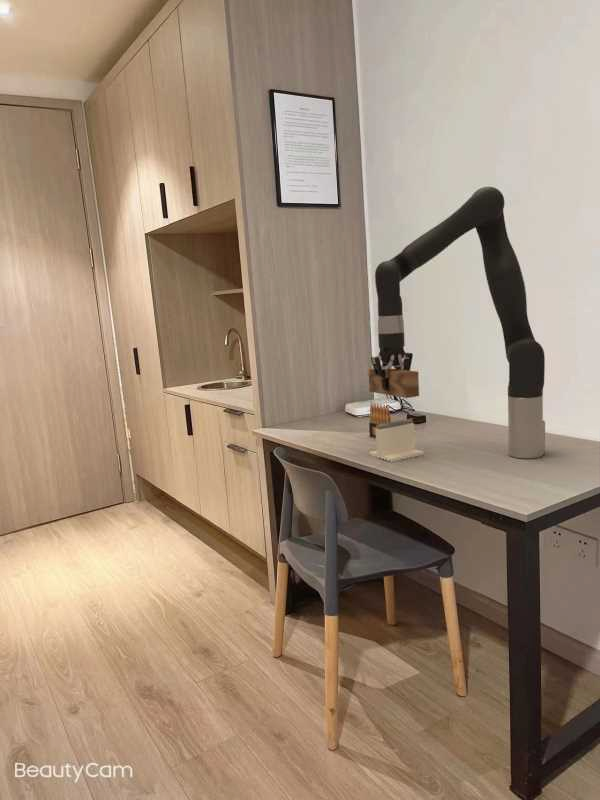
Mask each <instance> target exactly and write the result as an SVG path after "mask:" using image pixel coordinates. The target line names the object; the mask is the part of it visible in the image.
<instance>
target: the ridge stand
mask: <svg viewBox="0 0 600 800" xmlns="http://www.w3.org/2000/svg"><path fill="white" fill-rule="evenodd" d="M375 432H376V439H375V446H376V447H375V449H376V450H372V451H369V452H368V456H370V455H371V456H370V457H373V456H374V458H376V457H377V459H379V458H381V459H380V460H382V459H384V460H383V461H385V460H387V461H386V462H388V461H390V462H389V463H394V462H393V461H395V462H398V461H397V460H399V461H402V460H401V459H404V460H407V459H406V458H408V459H411V458H410V457H412V458H415V456H417V457H421V456H425V455H424V454H425V453H424V451H422V450H419V449H416V446H415V445H416V443H415V423H414V422H413V419H411V418H406V419H401V420H395V421H391V422H390V423H385V424H380V425H376V428H375ZM420 455H421V456H420Z"/></svg>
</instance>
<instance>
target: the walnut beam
mask: <svg viewBox="0 0 600 800" xmlns="http://www.w3.org/2000/svg"><path fill="white" fill-rule="evenodd" d="M388 378H389V391H385V390H383V389H382V379H381V377H379V376H376V375H375V372H374V368H368V385H369V387H368V388H369V392H370V393H376V394H381V395H387V396H393V397H396V398H397V397H399V398H404V399H408V398H416V397H420V390H419V389H420V386H419V385H420V383H419V379H420V378H419V371H416V370H410V371H408V370H399V369H395V368H391V370H390V371H389V377H388Z"/></svg>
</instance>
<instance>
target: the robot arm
mask: <svg viewBox="0 0 600 800" xmlns="http://www.w3.org/2000/svg"><path fill="white" fill-rule="evenodd" d="M504 208H505V198H504V195H503V193H502V192H501V191H500V190H499V189H498V188H496V187H494V186H484V187H480V188H478V189H477V190H475V192H473V194H471V196H470V197H469V198H468V199H467V201H465V202H464V203H463V204H462V205H461V206H460V207H459V208H458V209H457V210H455V211H454V212H453V213H452V214H450V215H448V217H447V218H445V219H444V220H443V221H441V222H439V223H438V224H437V225H435V226H434V227H432V228H431V229H429V230H428V231H426V232H425V233H423V234H422V235H421V236H419V237H417V238H416V239H415V240H413V241H412V242H411V243H409V244H407V245H406V246H405V247H404V248H403V249H402V251H400V253H398V254H397V255H395V256H394V257H392V258H391V259H389V260H386V261H382V262H381V263H379V264H378V266H377V267H376V269H375V271H374V272H375V273H374V280H375V289H376V294H377V316H378V317H377V318H378V320H377V333H378V334H377V337H378V339H377V341H378V348H379V353H378V355H376V356H372V357H370V361H371V364H372V367H373V368H374V372H375V375H376V376H379V377H381V379H382V389H383V390H385V391H389V378H388V377H389V371H390V370H391V369H399V370H408V371H411V366H412V361H413V356H414V355H413V354H414V353H411V352H405V348H404V347H405V345H406V344H405V323H404V316H403V313H404V312H403V300H402V296H401V288H400V287H401V285H400V284H401V283H400V282H402V281H404V279H406V278H407V277H408V276H409V275H410V274H412V273H413V272H414V271H415V270H417V269H419V268H421V267H423V265H425V264H427V263H428V262H429V261H431V260H433V259H434V258H435V257H437V256H438V255H439V254H441V253H442V252H443V251H445V249H447V248H448V247H450V245H452V244H453V243H455V241H456V240H458V239H460V238H461V237H463V235H466V233H468V232H470V231H472V230H473V229H475V230H476V233H477V236H478V238H479V242H480V246H481V251H482V253H481V254H482V261H483V267H484V271H485V272H484V273H485V277H486V281H487V285H488V289H489V293H490V296H491V299H492V303H493V306H494V309H495V311H496V315H497V317H498V319H499V322H500V326H501V330H502V334H503V341H504V347H505V348H504V349H505V350H504V351H505V355H506V356H505V357H506V360H507V362H508V385H507V414H508V415H507V424H508V427H507V428H508V430H507V431H508V456H510V457H513V458H517V459H537V458H541V457H542V456H543V455H545V454H546V421H545V420H544V414H543V413H544V406H543V405H544V403H543V402H544V401H543V400H544V395H543V394H544V393H543V392H544V387H545V372H546V371H545V369H546V366H545V364H546V362H545V360H546V359H545V351H544V348H543V346H542V345H541V344H540V343H539V342H538V341H536V339H535V336H534V334H533V330H532V328H531V325H530V321H529V315H528V303H527V292H526V286H525V285H526V283H525V281H524V277H523V276H524V275H523V273H522V269H521V266H520V263H519V260H518V257H517V255H516V252H515V250H514V248H513V245H512V243H511V241H510V239H509V235H508V232H507V227H506V221H505V214H504V213H505V212H504ZM392 367H393V368H392Z"/></svg>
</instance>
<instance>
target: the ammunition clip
mask: <svg viewBox="0 0 600 800" xmlns="http://www.w3.org/2000/svg"><path fill="white" fill-rule="evenodd" d="M391 419H392V418H391V413H390V407H389V405H387V406H386V405H385V404H383V405H382V404H380V405H379V403H377V404H376V403H375V402H374V403H373V402H371V403H370V406H369V423H368V425H369V426H368V427H369V438H372V437H374V438H373V439H375V438H376V432H375V428H376V425H380V424H385V423H390V422H392V421H391Z"/></svg>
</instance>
